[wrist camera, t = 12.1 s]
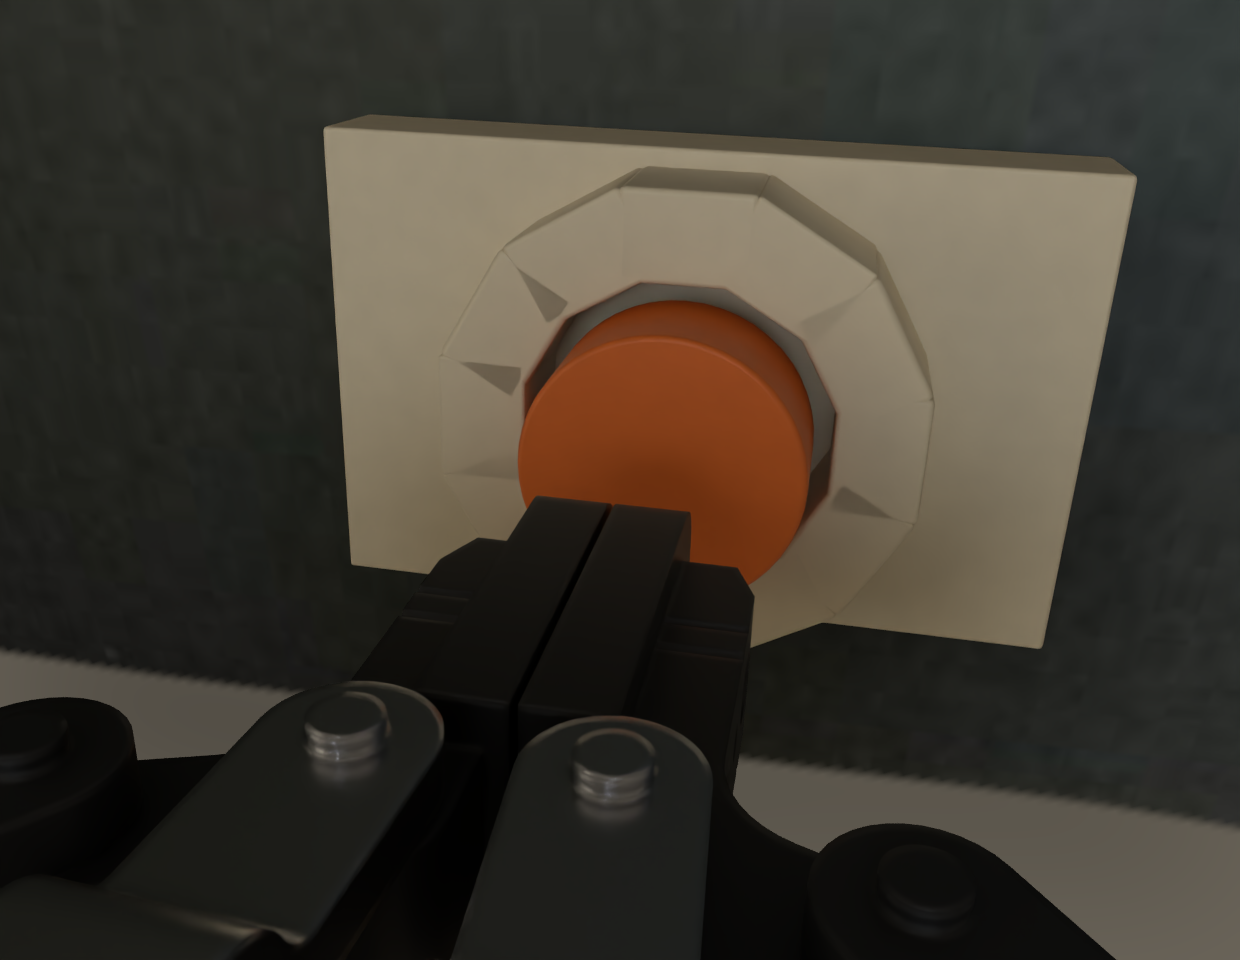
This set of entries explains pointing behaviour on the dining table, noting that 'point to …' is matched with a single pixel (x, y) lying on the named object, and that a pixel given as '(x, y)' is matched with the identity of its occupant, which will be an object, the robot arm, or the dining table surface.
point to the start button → (679, 429)
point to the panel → (760, 293)
